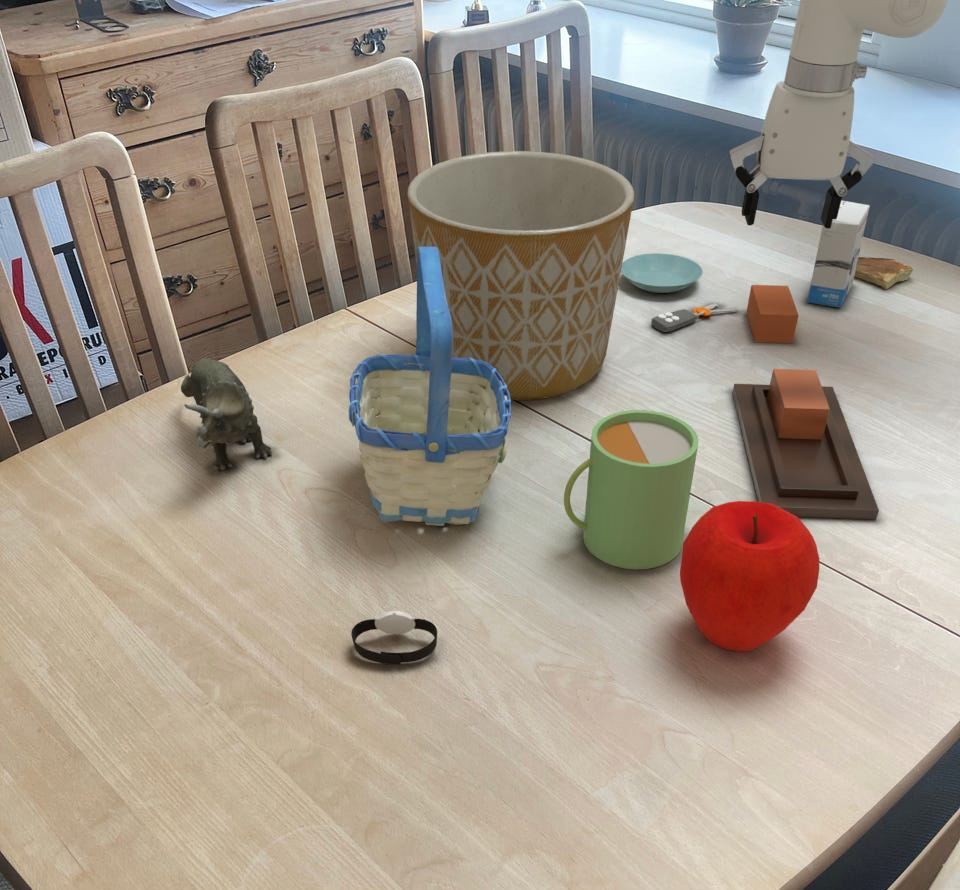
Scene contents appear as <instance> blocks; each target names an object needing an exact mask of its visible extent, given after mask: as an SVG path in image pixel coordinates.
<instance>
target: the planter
mask: <svg viewBox="0 0 960 890" xmlns="http://www.w3.org/2000/svg"><path fill="white" fill-rule="evenodd" d="M634 198H635V191H634V188H633V185H632V184H631V182H630V181H629V180H628V179H627V178H626V177H625V176H624V175H622V174H621V173H620V172H618V171H617V170H614V169H613V168H611V167H609V166H607V165H604V164H602V163H600V162H597V161H593V160H590V159H587V158H583V157H579V156H573V155H569V154H564V153H563V154H562V153H555V152H545V151H532V150H505V151H504V150H503V151H502V150H501V151H489V152H480V153H474V154H468V155H467V154H466V155H463V156H459V157H455V158H451V159H447V160H445V161H442V162H441V161H440V162H439V163H437V164H434V165H431V166H430V167H427V168H426V169H424V170H422V171H421V172H420V173H418V174H416V176H415V177H414V178H413V179H412V180H411V181H410V183H409V185H408V188H407V199H408V208H409V216H410V224H411V231H412V240H413V249H414V256H415V264H416V265H417V251H418V247H437V248H438V252H439V257H440V264H441V270H442V277H443V284H444V290H445V295H446V299H447V304H448V308H449V312H450V315H451V319H452V334H453V346H452V357H454V358H472V359H474V360H481V361H484V362H486V363H488V364H490V365H491V366H492V367H493V368H496V370H497V372H498V373H499V374H500V375H501V377H502V378H503V380H504V382H505V384H506V385H507V389H508V392H509V393H510V399H511V401H533V400H541V399H549V398H552V397H557V396H560V395H564V394H566V393H569V392H572V391H573V390H575V389H577V388H580V387H581V386H583V385H584V384H586V383H587V382H589V381H590V380H591V379H593V377H594V376H596V374H597V373H598V371H599V370H600V369H601V367H602V366H603V364H604V362H605V359H606V356H607V352H608V346H609V342H610V341H609V340H610V335H611V330H612V324H613V318H614V312H615V308H616V307H615V306H616V301H617V296H618V290H619V285H620V279H621V275H622V273H621V268H622V263H623V262H624V255H625V251H626V245H627V239H628V233H629V228H630V223H631V217H632V211H633V206H634V200H635V199H634ZM480 377H481V376H480ZM480 386H481V385H480ZM481 387H483V386H481ZM485 388H486V387H483V389H485ZM470 393H473V392H470ZM475 394H476V393H475ZM477 395H478V394H477Z"/></svg>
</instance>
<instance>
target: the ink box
mask: <svg viewBox="0 0 960 890" xmlns="http://www.w3.org/2000/svg"><path fill="white" fill-rule="evenodd" d="M869 211H870V204H864V203H860V202H859V203H858V202H853V201H847V200H841V204H840V208H839V212H838V216H837V219H833V220H832V225H831V228H830V229H828V228H825V227H824V225H823V224H822V228H821V233H820V237H819V241H818V247H817V250H816V251H817V252H816V257H815V261H814V267H813V271H812V275H811V276H812V277H811V281H810V286H809V292H808V296H807V300H806V301H807V303H808V304H809V303H810V304H816V305H822V306H827V307H835V308H842V306H843V303H844V302H845V300H846V298H847V295H848V294H849V292H850V290H851V288H852V287H853V285H854V279H855V276H854V275H855V271H856V266H857V261H858V257H860V251H861V247H862V243H863V242H862V241H863V239H864V234H865V230H866V225H867V221H868V215H869Z"/></svg>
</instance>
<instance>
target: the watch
mask: <svg viewBox="0 0 960 890" xmlns="http://www.w3.org/2000/svg"><path fill="white" fill-rule="evenodd" d="M373 630H374V631H375V630H377V631H378V630H380V631H381V632H383V633H386V634H390V635H402V634H403V635H404V634H406V633H409V632H410V631H413V630H420V631H425V632H428V633H430V635H432V636H433V639H432V640H431V642H430V643H428V644H427V645H426V646H424V647H422V648H420V649H419V648H418V649H416V650H413V651H402V652H389V651H388V652H387V651H380V652H377V651H373V650H369V649H367V648H364V647H362V646H361V645H360V644H358V642H357V638H358V637H359V636H360V635H362V634H363V633H366V632H369V631H373ZM350 636H351V640H352V643H353V647H354V649H355V651H356V652H357V653H358V655H359V656H361V657H362V658H364V659H366V660H368V661H371V662H375V663H380V664H385V665H401V664H403V663H412V662H417V661H420V660H422V659H423V660H424V659H425V658H427V657H429V655H430V654H432V653H433V652H434V651H435V649H436V647H437V645H438V644H437V643H438V628H437V627H436V625H435V624H434V623H433V622H431V621H430V620H428V619H423V618H417V617H413V616H412V615H411V614H409V613H407V612H405V611H401V610H389V611H386V612H383V613H381V614H380V615H379V616H378V618H371V619H364V620H361V621H360V622H357V623H356V624H355V625H354V626H353V627H352V629H351V635H350Z"/></svg>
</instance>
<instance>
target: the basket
mask: <svg viewBox="0 0 960 890" xmlns="http://www.w3.org/2000/svg"><path fill="white" fill-rule="evenodd" d="M415 311H416V313H415V314H416V315H415V316H416V319H415V320H416V323H415V324H416V325H415V326H416V329H415V330H416V332H415V335H416V336H415V353H411V354H401V353H400V354H399V353H391V354H388V353H386V354H382V353H380V354H376V355H373V356H369V357H366V358H364V359H362V361H361V362H359V363H358V364H357V366H356V367H355V368H354V370H353V372H352V374H351V376H350V378H349V379H350V380H349V385H350V388H349V392H348V393H349V394H348V399H349V404H348V405H349V406H348V420H349V422H350V423H351V426H352V427H354V430H355V434H356V437H357V439H358V441H359V444H358V445H359V451H360V453H361V454H360V456H359V459H360V463H362V467H363V470H364V471H365V472H364V477H365V481H366V484H367V486H368V488H369V493H370V499H371V500H370V501H371V504H372V506H373V507H374V508H375V509H376V511H377V513H378V516H379V517H378V519H379V520H380V521H381V522H398V521H400V520H401V521H403V522H419V523H421V522H424V523H425V525H428V526H439V527H444V526H445V524H451V525H457V526H458V525H469V524H470V523H473V522H475V521H476V519H477V517H478V515H479V512H480V505H481V504H482V501H483V497H484V492H485V491H486V490H487V489H488V488H489V487H490V484H491V480H492V476H493V474H494V472H495V471H496V468H497V466H498V464H502V463H503V462H504V461H505V459H506V456H507V452H508V451H507V449H508V448H507V446H505V445H506V436H507V435H508V428H509V423H510V420H511V417H512V404H511V403H512V400H511V399H510V393H509V392H508V389H507V385H506V384H505V382H504V380H503V378H502V377H501V375H500V374H499V373H498V372H497V370H496V368H493V367H492V366H491V365H490V364H488V363H486V362H484V361H481V360H474V359H472V358H454V357H452V346H453V334H452V319H451V315H450V312H449V308H448V304H447V299H446V295H445V290H444V284H443V277H442V270H441V264H440V257H439V252H438V248H437V247H418V251H417V264H416V309H415ZM480 376H481V377H480ZM480 385H481V386H483V387H486V388H485V389H483V387H481V386H480ZM470 392H473V393H470ZM475 393H476V394H475ZM477 394H478V395H477Z"/></svg>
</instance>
